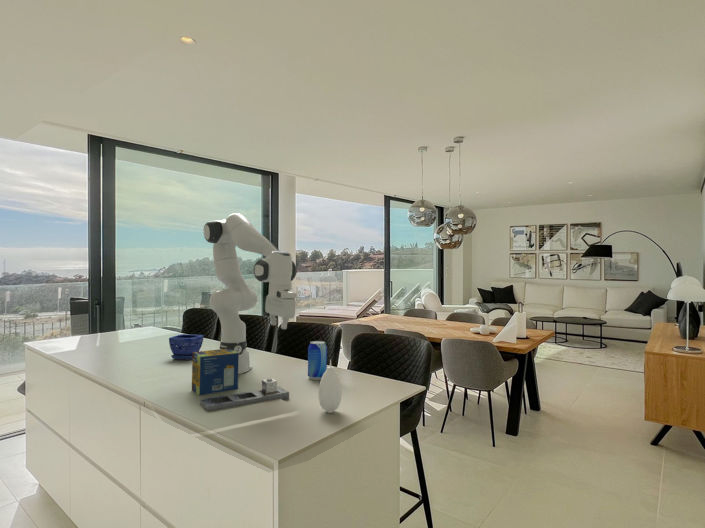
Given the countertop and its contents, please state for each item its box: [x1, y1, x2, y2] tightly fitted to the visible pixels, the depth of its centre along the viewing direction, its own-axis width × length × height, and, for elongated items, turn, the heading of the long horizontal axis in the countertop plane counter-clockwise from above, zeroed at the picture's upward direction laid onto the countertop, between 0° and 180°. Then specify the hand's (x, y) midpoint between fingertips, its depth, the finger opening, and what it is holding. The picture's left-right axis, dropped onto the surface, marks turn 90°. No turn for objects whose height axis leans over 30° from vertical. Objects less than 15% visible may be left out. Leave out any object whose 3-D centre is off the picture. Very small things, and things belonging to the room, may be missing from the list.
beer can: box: [307, 340, 328, 381], centre depth 184 cm, size 8×8×16 cm
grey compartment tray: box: [199, 385, 290, 412], centre depth 148 cm, size 9×30×2 cm, turn 126°
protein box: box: [191, 348, 239, 396], centre depth 162 cm, size 10×15×16 cm
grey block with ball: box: [261, 378, 278, 395], centre depth 154 cm, size 4×4×6 cm
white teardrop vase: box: [318, 359, 343, 414], centre depth 140 cm, size 8×8×18 cm
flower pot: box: [168, 333, 204, 361], centre depth 220 cm, size 13×13×12 cm
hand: (278, 326), depth 161 cm, fingers open, 8 cm apart
